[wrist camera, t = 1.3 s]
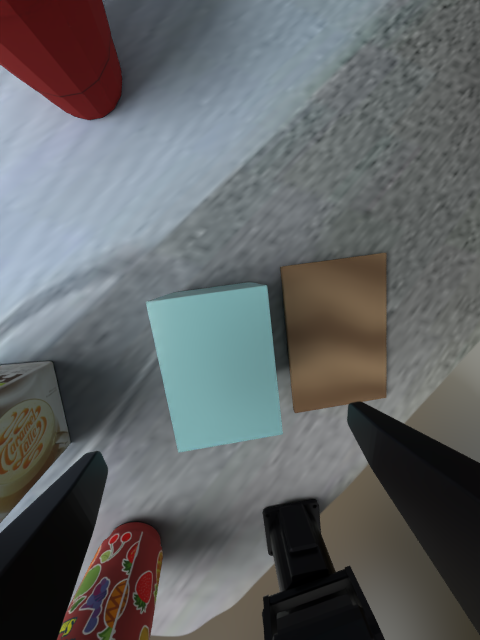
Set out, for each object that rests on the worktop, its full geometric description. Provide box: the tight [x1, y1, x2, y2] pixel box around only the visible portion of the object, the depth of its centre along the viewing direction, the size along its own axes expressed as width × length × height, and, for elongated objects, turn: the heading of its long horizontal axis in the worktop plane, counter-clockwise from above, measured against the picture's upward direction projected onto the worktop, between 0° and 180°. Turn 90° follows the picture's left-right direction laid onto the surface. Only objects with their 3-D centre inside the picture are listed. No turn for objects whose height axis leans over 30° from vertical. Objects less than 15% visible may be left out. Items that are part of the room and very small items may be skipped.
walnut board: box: [280, 253, 386, 413], centre depth 22 cm, size 15×10×1 cm, turn 8°
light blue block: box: [146, 282, 283, 452], centre depth 18 cm, size 10×7×8 cm
